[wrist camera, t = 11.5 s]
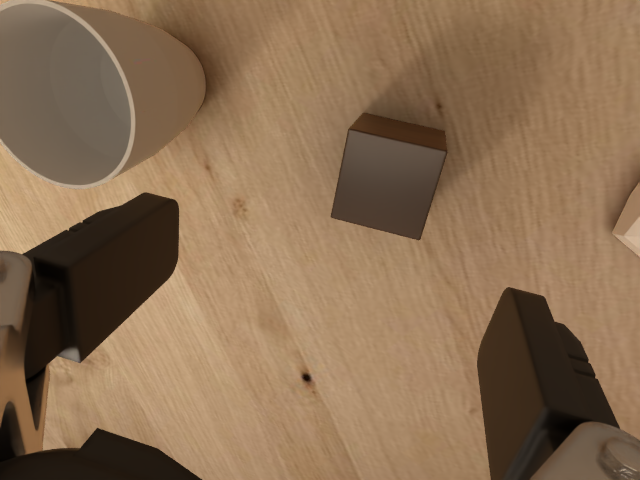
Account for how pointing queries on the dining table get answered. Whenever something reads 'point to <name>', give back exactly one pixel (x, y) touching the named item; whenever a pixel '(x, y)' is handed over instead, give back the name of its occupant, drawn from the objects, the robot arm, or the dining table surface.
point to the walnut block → (389, 175)
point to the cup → (90, 90)
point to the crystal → (630, 222)
